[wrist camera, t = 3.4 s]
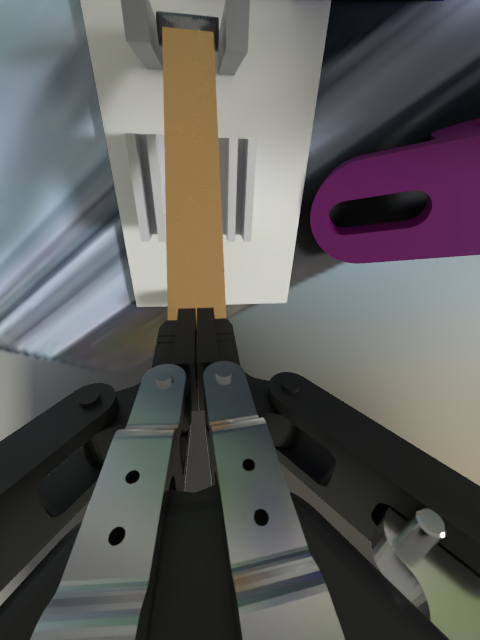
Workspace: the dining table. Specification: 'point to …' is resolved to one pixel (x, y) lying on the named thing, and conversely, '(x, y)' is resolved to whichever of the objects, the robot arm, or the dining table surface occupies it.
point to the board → (233, 132)
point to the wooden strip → (192, 163)
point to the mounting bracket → (401, 176)
